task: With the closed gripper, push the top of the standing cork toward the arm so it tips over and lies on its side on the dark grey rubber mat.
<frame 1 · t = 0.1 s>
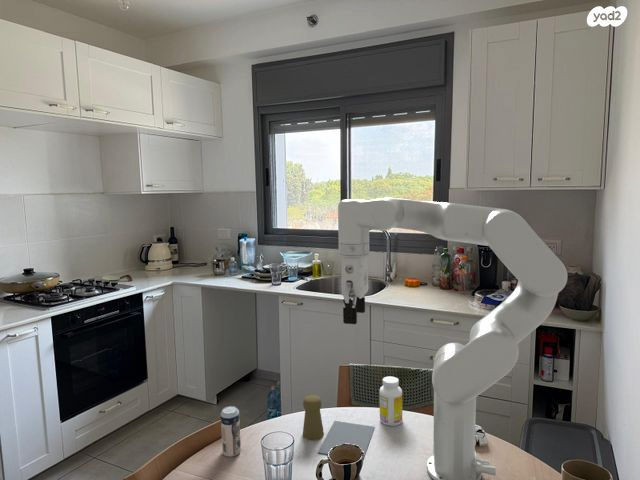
hand: (354, 317, 107), 37 cm above the table, tool pointing down, fingers open, 9 cm apart
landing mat: (347, 439, 118), on the table
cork: (313, 434, 121), on the table
beer can: (231, 453, 114), on the table
supplement bottle: (391, 421, 127), on the table
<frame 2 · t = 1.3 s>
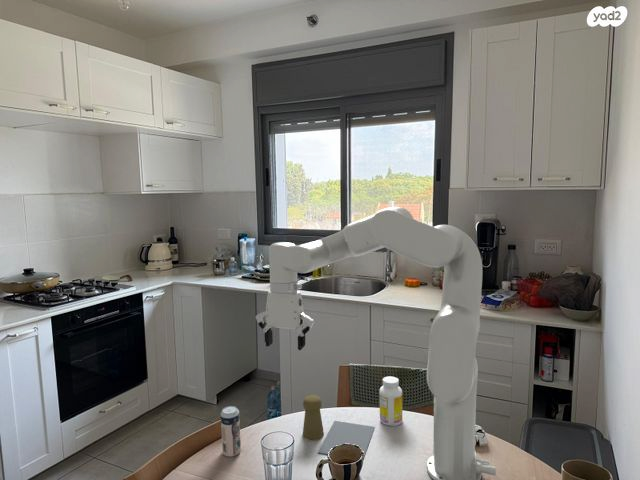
hand: (285, 346, 121), 25 cm above the table, tool pointing down, fingers open, 9 cm apart
nothing on the table moved.
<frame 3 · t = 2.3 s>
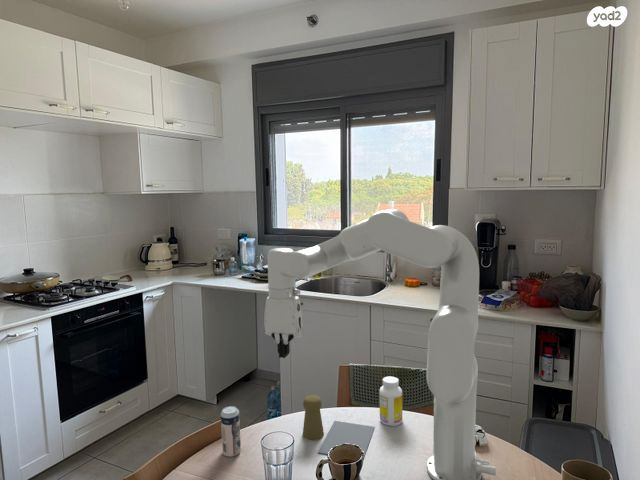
hand: (283, 355, 121), 22 cm above the table, tool pointing down, fingers closed
nothing on the table moved.
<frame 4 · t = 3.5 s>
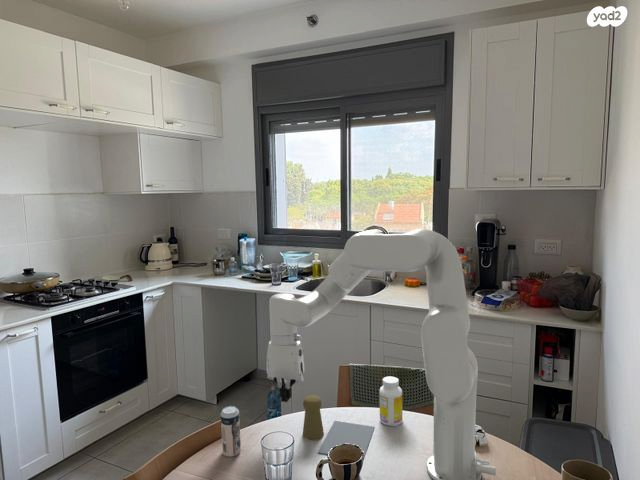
hand: (285, 399, 123), 9 cm above the table, tool pointing down, fingers closed
nothing on the table moved.
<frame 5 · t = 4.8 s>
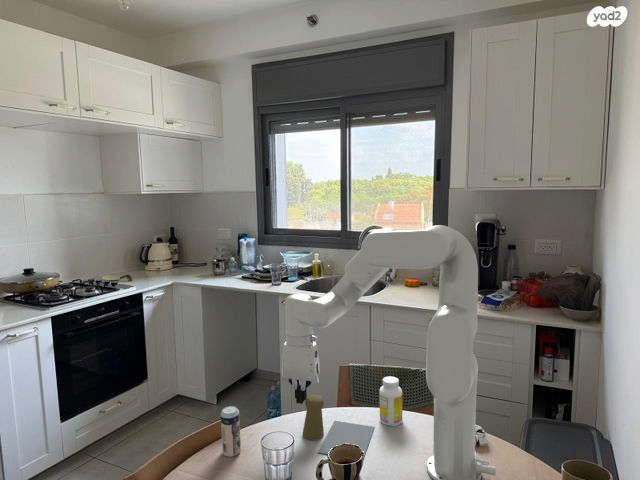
hand: (300, 401, 121), 9 cm above the table, tool pointing down, fingers closed
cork: (313, 434, 121), on the table, touching gripper
everything else where it was.
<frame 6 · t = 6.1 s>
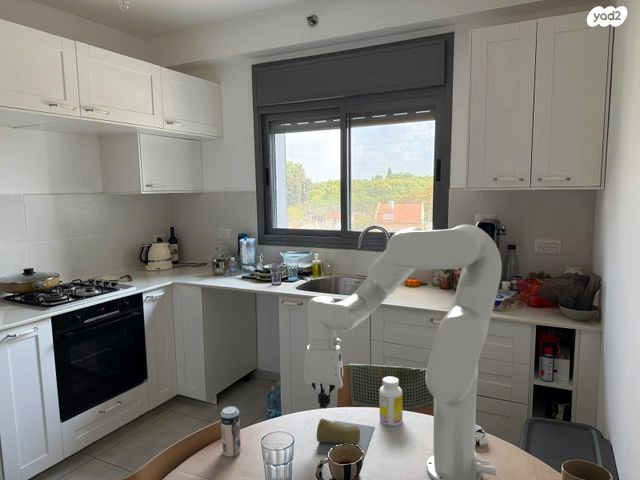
hand: (324, 405, 119), 9 cm above the table, tool pointing down, fingers closed
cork: (319, 429, 118), point 3 cm above the table, touching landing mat
everything else where it was.
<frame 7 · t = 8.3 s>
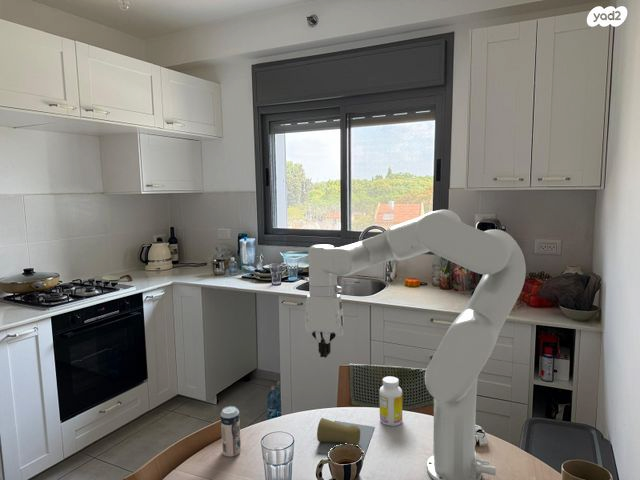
hand: (324, 355, 118), 23 cm above the table, tool pointing down, fingers closed
nothing on the table moved.
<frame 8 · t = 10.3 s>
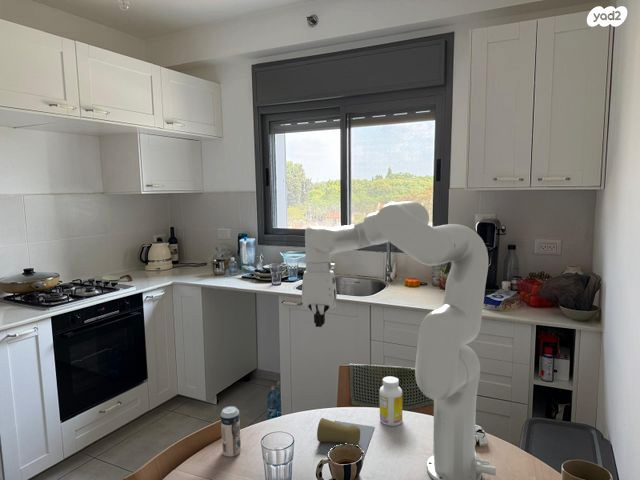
hand: (319, 325, 132), 27 cm above the table, tool pointing down, fingers closed
nothing on the table moved.
at the end: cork tilted 91°; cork inside the target area (2.0 cm from its centre), point 3.0 cm above the table; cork touching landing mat, table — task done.
